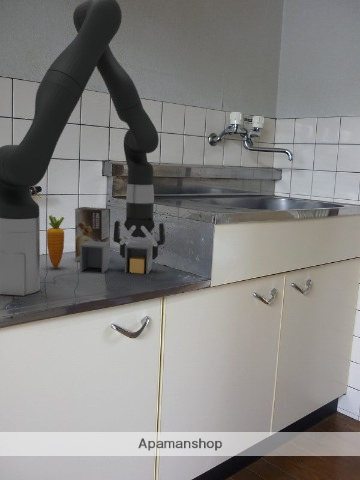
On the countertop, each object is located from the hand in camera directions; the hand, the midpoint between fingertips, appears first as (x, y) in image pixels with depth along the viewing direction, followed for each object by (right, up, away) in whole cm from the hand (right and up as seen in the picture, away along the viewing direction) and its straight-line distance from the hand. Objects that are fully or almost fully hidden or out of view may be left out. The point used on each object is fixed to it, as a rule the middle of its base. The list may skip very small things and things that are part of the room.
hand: (139, 258), depth 139 cm
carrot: (-23, -3, -1) cm, 24 cm away
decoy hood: (-12, -3, -1) cm, 13 cm away
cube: (0, -4, 0) cm, 4 cm away
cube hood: (0, -4, 0) cm, 4 cm away
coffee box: (-15, -1, +12) cm, 19 cm away
